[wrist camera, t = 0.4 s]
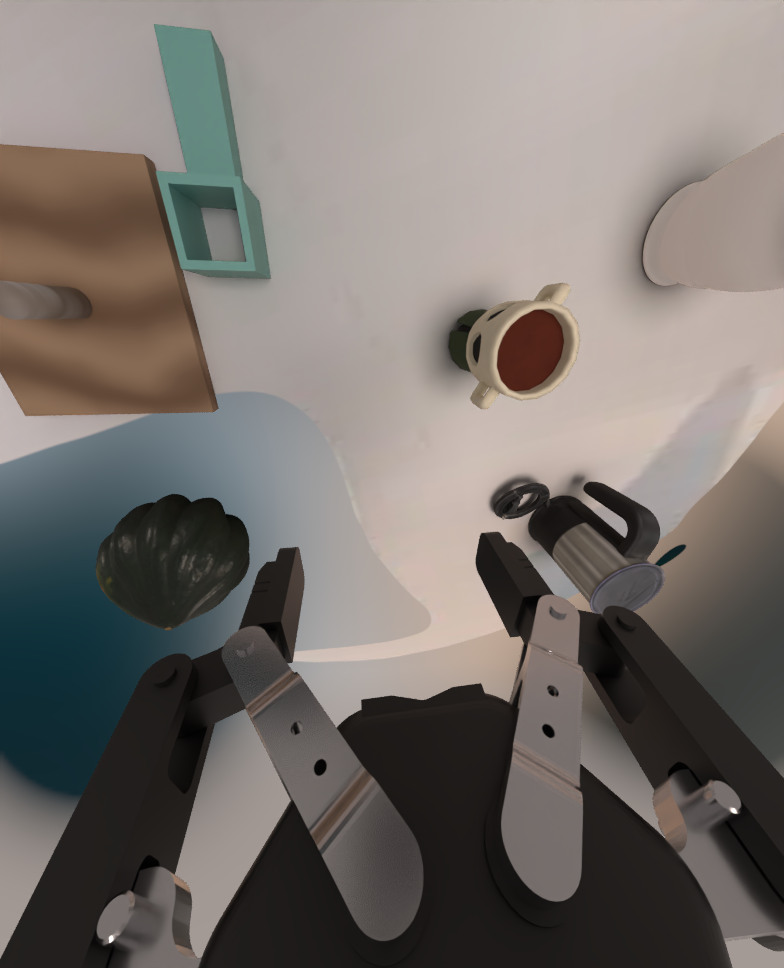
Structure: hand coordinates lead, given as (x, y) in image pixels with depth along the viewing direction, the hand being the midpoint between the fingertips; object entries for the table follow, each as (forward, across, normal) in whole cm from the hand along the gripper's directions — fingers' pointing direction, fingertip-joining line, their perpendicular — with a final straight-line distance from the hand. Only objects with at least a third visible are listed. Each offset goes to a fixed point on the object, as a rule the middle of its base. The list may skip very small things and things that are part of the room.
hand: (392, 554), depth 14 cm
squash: (+26, +23, +16) cm, 38 cm away
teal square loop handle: (+27, +11, -19) cm, 34 cm away
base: (+26, +25, -10) cm, 38 cm away
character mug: (+27, -13, -6) cm, 30 cm away
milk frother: (+26, -26, +18) cm, 41 cm away
